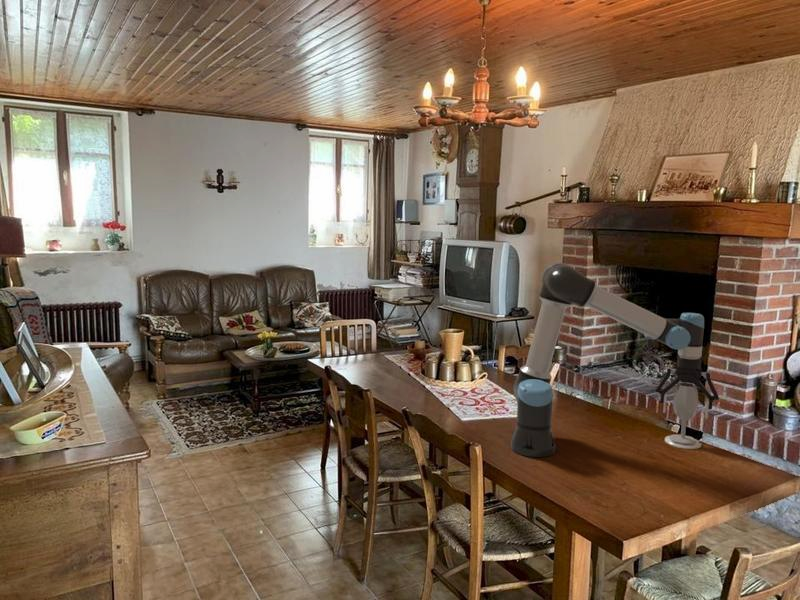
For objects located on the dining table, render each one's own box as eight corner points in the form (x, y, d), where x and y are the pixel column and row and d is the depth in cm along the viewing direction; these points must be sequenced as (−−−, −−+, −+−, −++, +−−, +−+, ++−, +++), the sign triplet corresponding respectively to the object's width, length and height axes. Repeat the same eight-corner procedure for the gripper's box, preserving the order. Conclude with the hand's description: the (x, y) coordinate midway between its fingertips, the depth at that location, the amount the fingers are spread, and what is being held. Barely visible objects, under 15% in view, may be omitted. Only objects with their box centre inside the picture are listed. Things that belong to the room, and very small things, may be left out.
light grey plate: (682, 451, 208) (682, 449, 208) (657, 438, 219) (657, 437, 219) (709, 447, 212) (709, 445, 212) (683, 435, 223) (683, 433, 223)
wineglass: (695, 438, 218) (700, 382, 215) (696, 447, 210) (701, 389, 207) (669, 435, 221) (673, 380, 218) (669, 443, 213) (673, 385, 210)
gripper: (729, 358, 209) (723, 416, 212) (651, 351, 220) (648, 406, 223) (730, 363, 202) (724, 423, 205) (650, 355, 213) (646, 412, 216)
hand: (684, 414), depth 214 cm, fingers open, 13 cm apart
